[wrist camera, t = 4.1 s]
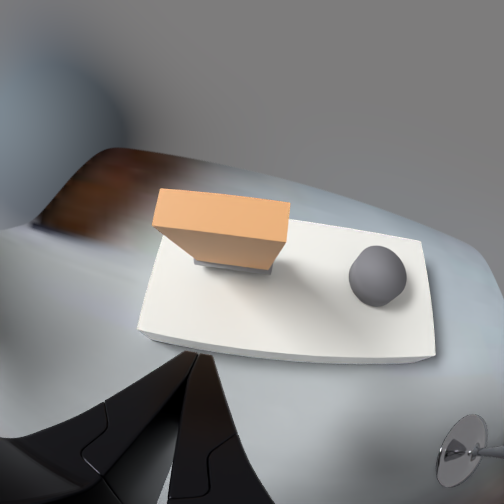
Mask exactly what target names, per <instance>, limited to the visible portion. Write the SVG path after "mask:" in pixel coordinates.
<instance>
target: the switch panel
mask: <svg viewBox="0 0 504 504" xmlns="http://www.w3.org/2000/svg"><path fill="white" fill-rule="evenodd" d="M370 246H383V247H386V248H388V249H390V250H391V251H393V252H394V253H395V254H396V255H397V256H398V257H399V258H400V259H401V261H402V263H403V264H404V267H405V270H406V275H407V281H406V286H405V288H404V290H403V291H402V293H401V294H400V295H398V296H397V297H396V298H394V299H393V300H392V301H390V302H389V303H388V304H386V305H384V306H380V307H374V306H370V305H367V304H365V303H363V302H362V301H361V300H359V299H358V298H357V297H356V295H355V294H354V293H353V291H352V289H351V286H350V283H349V270H350V268H351V265H352V264H353V263H354V261H355V260H356V259H357V257H358V256H359V255H360V253H361V252H362V251H363V250H364V249H366V248H367V247H370ZM137 330H138V331H140V332H141V333H143V334H144V335H145V336H147V337H148V338H149V339H151V340H155V341H159V342H164V343H168V344H173V345H178V346H183V347H189V348H194V349H200V350H205V351H211V352H218V353H224V354H231V355H238V356H246V357H254V358H263V359H272V360H282V361H294V362H309V363H328V364H405V363H414V362H417V361H421V360H424V359H427V358H430V357H433V356H435V336H434V323H433V313H432V304H431V296H430V289H429V282H428V276H427V270H426V265H425V260H424V255H423V250H422V245H421V241H417V240H412V239H407V238H401V237H396V236H391V235H385V234H379V233H374V232H368V231H362V230H356V229H350V228H344V227H338V226H332V225H326V224H319V223H312V222H306V221H299V220H292V219H289V222H288V232H287V241H286V244H285V245H284V247H283V248H282V250H281V251H280V253H279V254H278V256H277V257H276V259H275V261H274V262H273V267H272V272H271V275H267V274H259V273H252V272H244V271H237V270H229V269H222V268H215V267H207V266H200V265H195V264H194V258H193V257H192V256H190V255H189V254H188V253H187V252H185V251H184V250H183V249H181V248H180V247H179V246H177V245H176V244H175V243H174V242H172V241H171V240H170V239H168V238H167V237H166V236H165V235H163V238H162V241H161V244H160V247H159V250H158V253H157V256H156V260H155V263H154V266H153V270H152V273H151V276H150V280H149V283H148V287H147V291H146V294H145V298H144V302H143V305H142V309H141V313H140V317H139V321H138V325H137Z"/></svg>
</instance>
